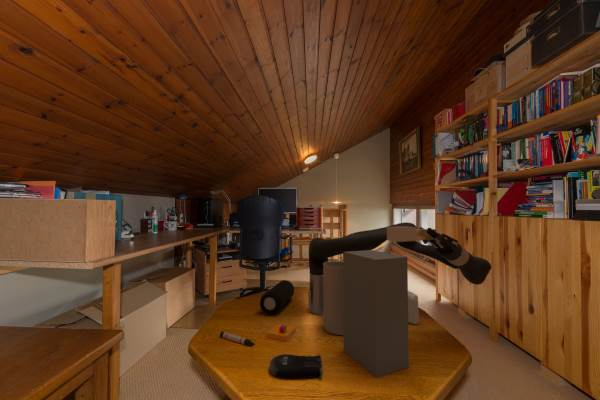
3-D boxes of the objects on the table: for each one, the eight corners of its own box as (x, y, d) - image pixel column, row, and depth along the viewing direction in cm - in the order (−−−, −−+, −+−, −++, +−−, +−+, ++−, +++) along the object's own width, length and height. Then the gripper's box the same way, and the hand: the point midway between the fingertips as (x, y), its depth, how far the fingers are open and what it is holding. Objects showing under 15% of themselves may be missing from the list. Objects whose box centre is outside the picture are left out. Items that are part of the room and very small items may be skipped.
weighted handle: (426, 238, 98) (426, 225, 98) (438, 239, 93) (438, 226, 94) (387, 240, 90) (386, 226, 90) (398, 241, 85) (398, 227, 86)
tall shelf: (372, 342, 92) (371, 250, 94) (408, 367, 78) (407, 257, 79) (343, 350, 87) (343, 251, 89) (376, 377, 73) (375, 259, 74)
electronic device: (319, 366, 81) (270, 358, 81) (322, 349, 81) (273, 341, 81) (320, 390, 72) (266, 382, 72) (324, 371, 71) (268, 363, 72)
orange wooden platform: (266, 339, 96) (266, 326, 96) (276, 329, 103) (276, 318, 103) (286, 343, 93) (287, 330, 93) (295, 333, 100) (295, 322, 100)
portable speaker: (277, 297, 142) (277, 278, 142) (295, 299, 139) (295, 279, 140) (257, 315, 117) (258, 292, 117) (279, 317, 114) (279, 294, 115)
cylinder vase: (329, 320, 112) (329, 260, 113) (359, 325, 106) (358, 262, 107) (318, 332, 101) (318, 265, 102) (350, 339, 95) (350, 268, 96)
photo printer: (392, 317, 115) (391, 288, 115) (397, 315, 117) (397, 287, 118) (415, 325, 107) (414, 294, 107) (420, 323, 109) (419, 292, 110)
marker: (219, 338, 96) (219, 332, 96) (223, 335, 98) (223, 330, 98) (252, 349, 88) (252, 342, 88) (256, 346, 90) (256, 340, 90)
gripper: (439, 241, 107) (411, 219, 101) (474, 245, 94) (445, 221, 88) (433, 258, 105) (404, 237, 99) (468, 264, 92) (438, 241, 87)
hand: (424, 229), depth 94 cm, fingers closed on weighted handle, 3 cm apart
